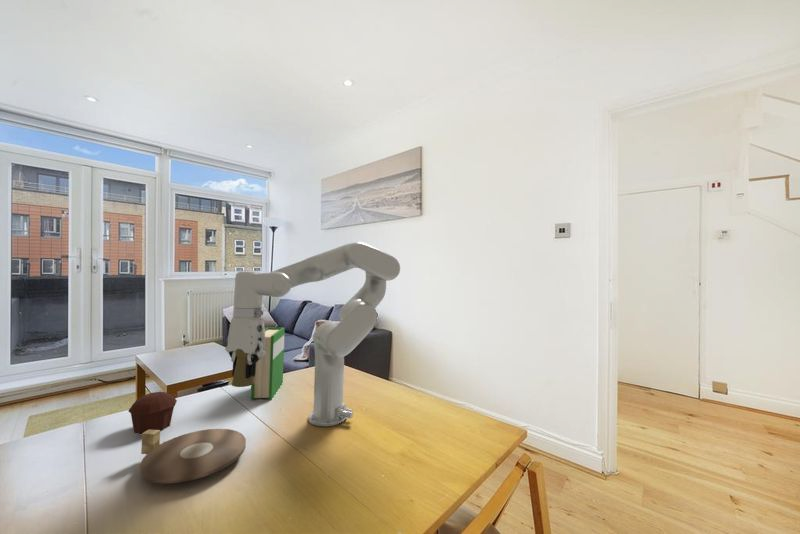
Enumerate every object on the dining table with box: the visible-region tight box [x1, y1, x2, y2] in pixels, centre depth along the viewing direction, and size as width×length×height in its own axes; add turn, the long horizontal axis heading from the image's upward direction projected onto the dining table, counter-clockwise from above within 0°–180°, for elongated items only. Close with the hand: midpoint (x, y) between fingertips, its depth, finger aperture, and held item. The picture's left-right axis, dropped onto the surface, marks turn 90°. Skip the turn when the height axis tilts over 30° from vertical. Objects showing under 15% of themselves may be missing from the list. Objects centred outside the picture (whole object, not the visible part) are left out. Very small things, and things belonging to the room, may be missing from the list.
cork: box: [231, 349, 255, 388], centre depth 93 cm, size 6×6×11 cm
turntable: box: [139, 428, 247, 484], centre depth 79 cm, size 23×22×5 cm
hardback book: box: [250, 327, 286, 401], centre depth 127 cm, size 18×7×24 cm, turn 7°
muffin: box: [128, 391, 178, 435], centre depth 96 cm, size 12×11×10 cm
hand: (243, 375), depth 93 cm, fingers closed on cork, 4 cm apart
